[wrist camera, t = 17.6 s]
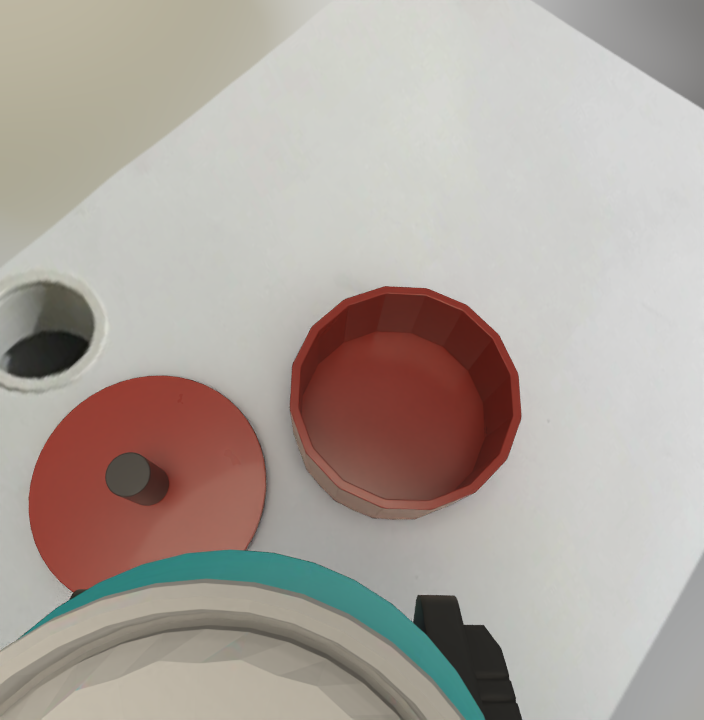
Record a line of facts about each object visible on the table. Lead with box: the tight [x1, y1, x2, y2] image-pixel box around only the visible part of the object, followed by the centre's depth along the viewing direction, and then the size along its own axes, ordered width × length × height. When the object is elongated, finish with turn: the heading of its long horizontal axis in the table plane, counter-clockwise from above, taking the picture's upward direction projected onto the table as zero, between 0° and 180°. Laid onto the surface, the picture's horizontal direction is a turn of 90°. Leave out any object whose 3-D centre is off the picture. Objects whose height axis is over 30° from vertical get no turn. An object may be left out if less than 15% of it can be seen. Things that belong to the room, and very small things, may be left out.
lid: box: [29, 376, 266, 592], centre depth 35 cm, size 14×14×6 cm
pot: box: [290, 286, 521, 520], centre depth 37 cm, size 13×13×6 cm
